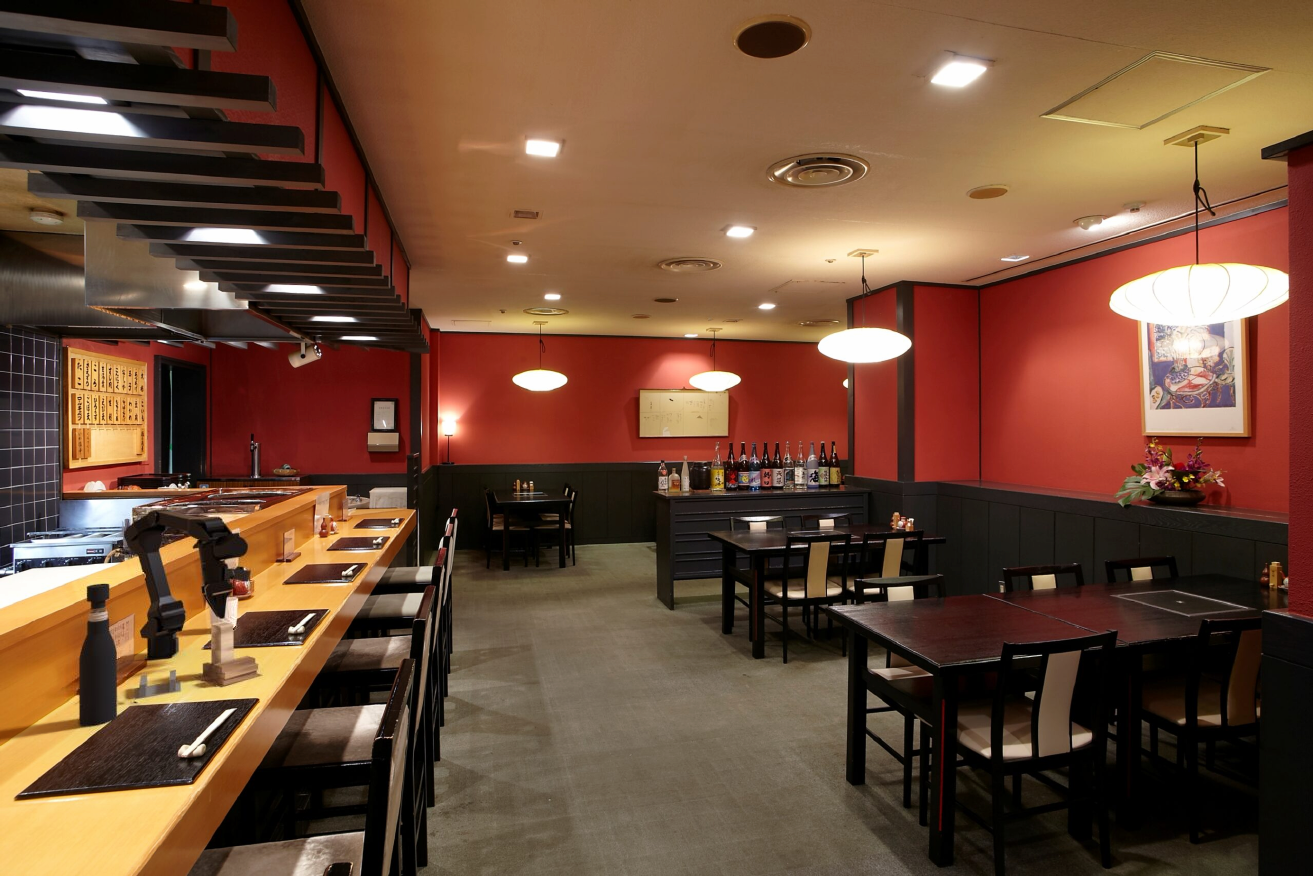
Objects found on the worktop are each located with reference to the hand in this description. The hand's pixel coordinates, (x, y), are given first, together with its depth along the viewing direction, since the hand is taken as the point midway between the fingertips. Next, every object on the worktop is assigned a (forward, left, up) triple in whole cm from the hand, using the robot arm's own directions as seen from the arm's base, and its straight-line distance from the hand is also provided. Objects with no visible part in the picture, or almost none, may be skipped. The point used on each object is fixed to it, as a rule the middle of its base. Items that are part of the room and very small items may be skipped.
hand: (220, 617), depth 186 cm
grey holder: (-9, -20, -13) cm, 26 cm away
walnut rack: (+5, -16, -13) cm, 21 cm away
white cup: (-8, +38, -13) cm, 41 cm away
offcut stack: (+8, -19, -12) cm, 24 cm away
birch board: (+3, -13, -12) cm, 18 cm away
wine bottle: (-16, -34, -13) cm, 40 cm away
